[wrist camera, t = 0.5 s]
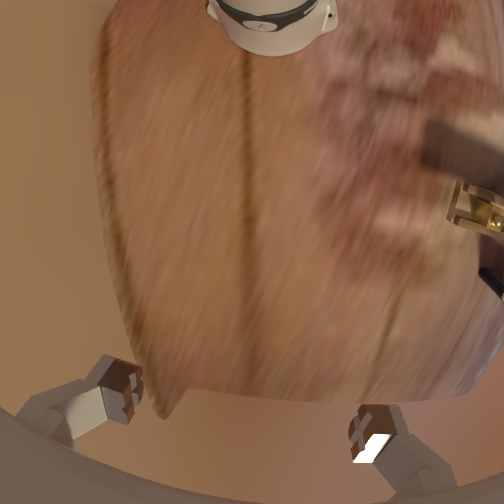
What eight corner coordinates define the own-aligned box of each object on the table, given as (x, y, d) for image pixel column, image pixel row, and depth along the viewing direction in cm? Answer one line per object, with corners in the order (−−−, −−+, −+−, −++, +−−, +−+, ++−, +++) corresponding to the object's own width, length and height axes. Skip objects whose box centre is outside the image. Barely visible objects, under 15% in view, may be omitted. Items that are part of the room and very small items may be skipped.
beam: (437, 169, 39) (473, 186, 29) (527, 206, 38) (561, 227, 28) (428, 205, 42) (460, 230, 32) (518, 235, 41) (550, 259, 31)
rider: (477, 198, 33) (496, 208, 28) (491, 203, 33) (510, 214, 28) (471, 217, 34) (489, 230, 29) (485, 222, 34) (503, 235, 29)
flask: (505, 279, 45) (532, 307, 35) (498, 290, 46) (523, 320, 37) (482, 263, 45) (511, 293, 35) (475, 276, 46) (501, 307, 36)
